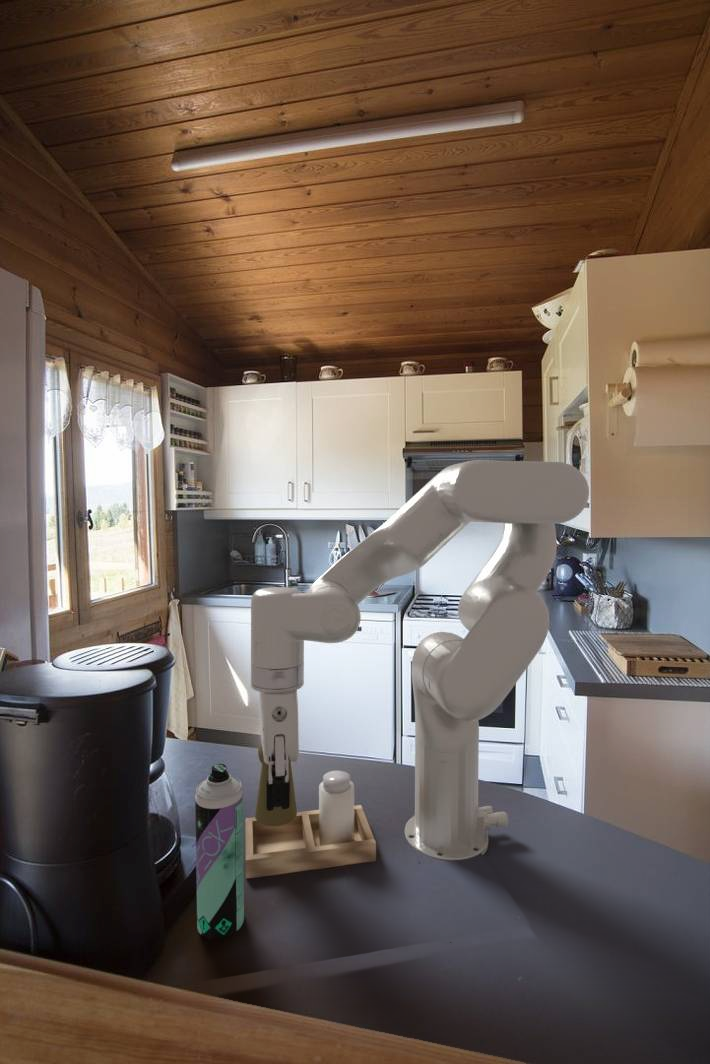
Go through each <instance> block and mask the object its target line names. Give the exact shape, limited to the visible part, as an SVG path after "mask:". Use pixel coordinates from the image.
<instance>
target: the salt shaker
mask: <svg viewBox="0 0 710 1064" xmlns="http://www.w3.org/2000/svg"><path fill="white" fill-rule="evenodd" d="M354 806H355V783H354V782H353V781H351V775H350V774H349V773H348V772H346V771H342V770H331V771H328V772H326V773H325V774H324V775H323V776H322V782H320V784H319V785H318V810H319V845H320V846H324V845H331V844H339V843H347V842H354Z"/></svg>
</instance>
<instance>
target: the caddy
mask: <svg viewBox="0 0 710 1064" xmlns="http://www.w3.org/2000/svg"><path fill="white" fill-rule="evenodd" d="M376 861H377V841H376V839H375V837H374V835H373V832H372V829H371V826H370V824H369V822H368V819H367V817H366V813H365V811H364V809H363V806H362V805H361V804H359V805H358V804H357V805H355V804H354V842H347V843H339V844H331V845H324V846H320V845H319V809H314V810H307V811H297V815H296V817H295V819H294V820H293V821H291V822H290V823H288V824H285V825H281V826H266V825H262V824H261V823H259V822H258V821H257V820H256V819H255V816H254V817H245V879H253V878H254V879H255V878H261V877H266V876H267V877H268V876H275V875H282V874H290V873H298V872H304V871H311V870H320V869H325V868H331V867H332V868H333V867H341V866H347V865H348V866H349V865H355V864H362V863H363V864H364V863H371V862H376Z"/></svg>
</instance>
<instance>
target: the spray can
mask: <svg viewBox="0 0 710 1064" xmlns="http://www.w3.org/2000/svg"><path fill="white" fill-rule="evenodd" d="M242 785H243V784H242V781H241V780H240V779H239V778H237V777H236V776H235V777H234V776H232V775H231V773H229V772H228V770H227V765H226V764H224V763H217V764H214V765H212V766H211V773H210V774H209V775H208V776H207V777H206V779H205V780H202V781H201V782H200V783H199V784H198V785H197V786H196V788H195V795H194V797H195V799H194V800H195V801H194V803H195V804H194V806H195V807H194V808H195V809H194V810H195V858H196V859H195V860H196V861H195V865H196V867H195V869H196V871H195V872H196V874H195V875H196V918H197V919H196V925H197V926H196V928H197V932H198V933H199V935H200V936H202V937H203V938H205V939H209V940H222V939H225V938H226V939H227V938H228V937H231V936H233V935H234V934H236V933H237V932H238V931H239V930H240V929H241V927H242V925H243V924H244V920H245V898H244V897H245V890H244V889H245V887H244V886H245V884H244V882H245V881H244V876H245V875H244V808H243V807H244V804H243V803H244V802H243V801H244V800H243V796H244V795H243V788H242V787H243V786H242Z"/></svg>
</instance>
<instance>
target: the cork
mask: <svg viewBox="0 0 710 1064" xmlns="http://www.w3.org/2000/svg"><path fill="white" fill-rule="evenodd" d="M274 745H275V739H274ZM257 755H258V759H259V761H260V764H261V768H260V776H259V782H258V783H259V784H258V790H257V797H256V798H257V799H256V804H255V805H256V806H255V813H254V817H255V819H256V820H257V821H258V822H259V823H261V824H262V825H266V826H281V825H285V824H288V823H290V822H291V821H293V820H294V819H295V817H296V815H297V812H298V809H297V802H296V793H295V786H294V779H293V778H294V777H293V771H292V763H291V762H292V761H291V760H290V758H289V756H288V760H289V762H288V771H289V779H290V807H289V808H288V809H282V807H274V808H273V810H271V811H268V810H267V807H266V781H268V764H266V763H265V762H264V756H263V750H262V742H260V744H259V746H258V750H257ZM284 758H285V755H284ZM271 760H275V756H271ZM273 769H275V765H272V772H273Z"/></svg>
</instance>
